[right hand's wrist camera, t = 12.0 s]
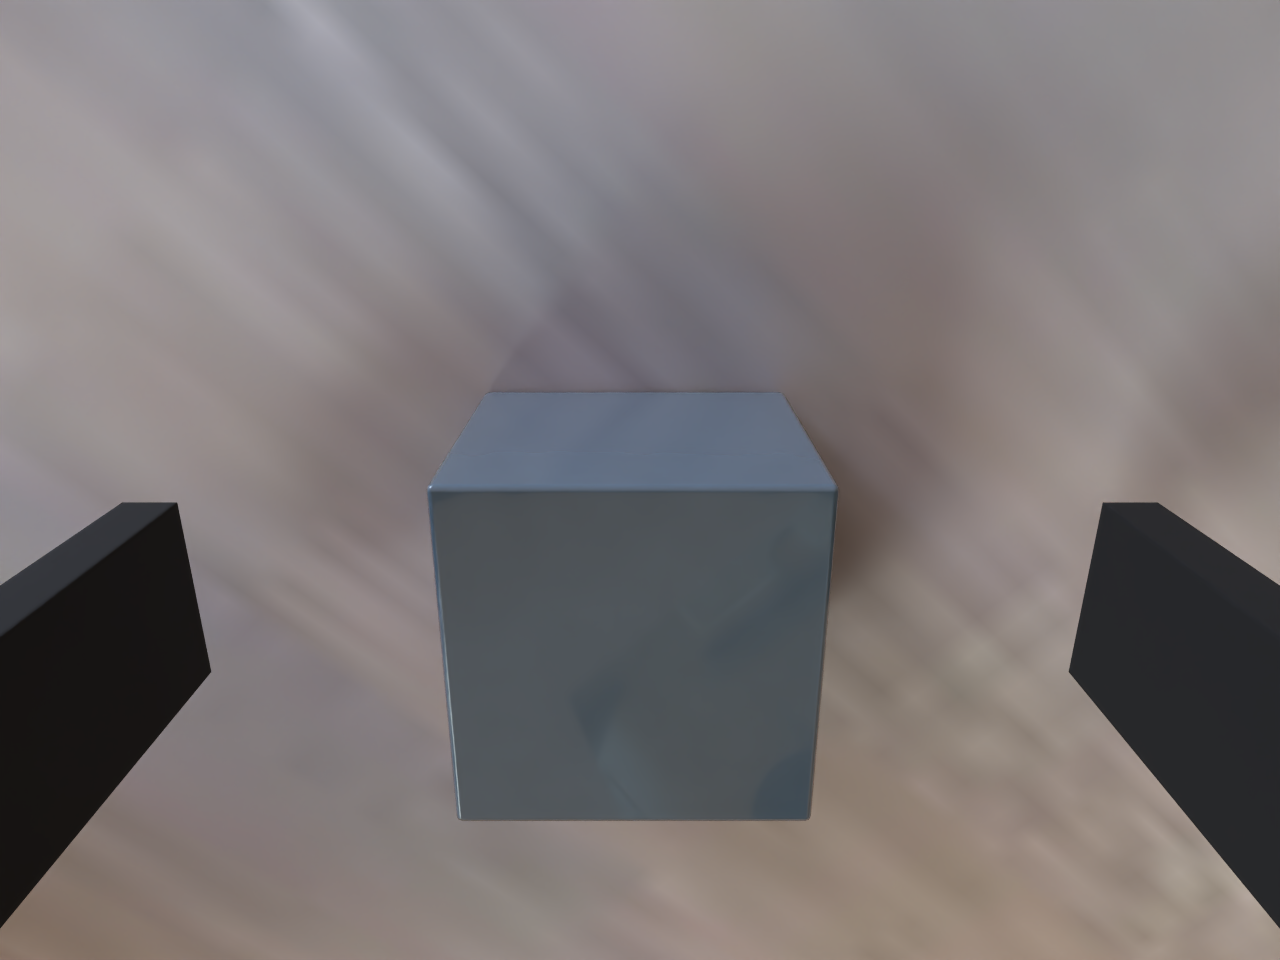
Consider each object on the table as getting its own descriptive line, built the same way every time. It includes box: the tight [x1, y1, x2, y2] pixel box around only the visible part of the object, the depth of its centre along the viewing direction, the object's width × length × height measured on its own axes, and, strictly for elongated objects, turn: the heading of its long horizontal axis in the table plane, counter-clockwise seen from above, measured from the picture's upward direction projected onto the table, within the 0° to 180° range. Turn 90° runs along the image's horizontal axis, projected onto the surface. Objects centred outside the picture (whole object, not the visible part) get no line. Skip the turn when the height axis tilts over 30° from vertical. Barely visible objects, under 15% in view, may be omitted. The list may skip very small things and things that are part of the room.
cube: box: [427, 392, 839, 821], centre depth 12 cm, size 5×5×4 cm
